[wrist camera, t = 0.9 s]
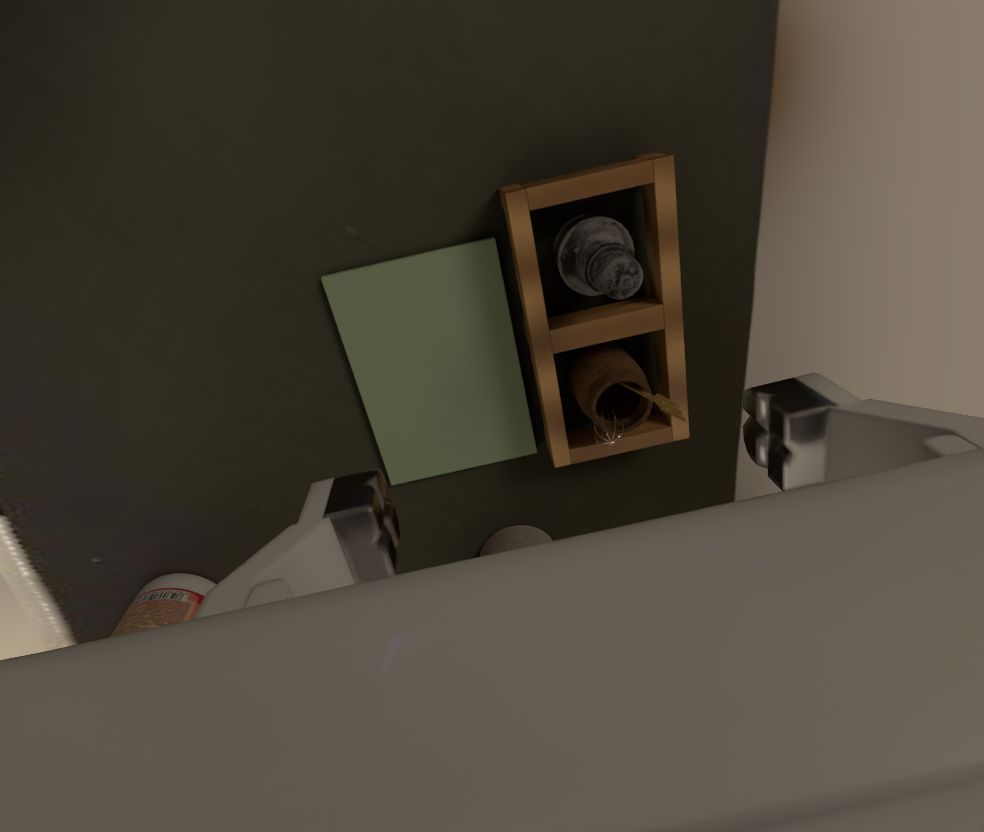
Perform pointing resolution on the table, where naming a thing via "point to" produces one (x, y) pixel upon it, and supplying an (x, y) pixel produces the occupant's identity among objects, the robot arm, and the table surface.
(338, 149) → the table surface
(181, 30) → the table surface
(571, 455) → the rack
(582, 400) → the utensil holder
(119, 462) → the table surface
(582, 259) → the dark grey upright figure
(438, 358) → the mat
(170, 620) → the fruit juice
